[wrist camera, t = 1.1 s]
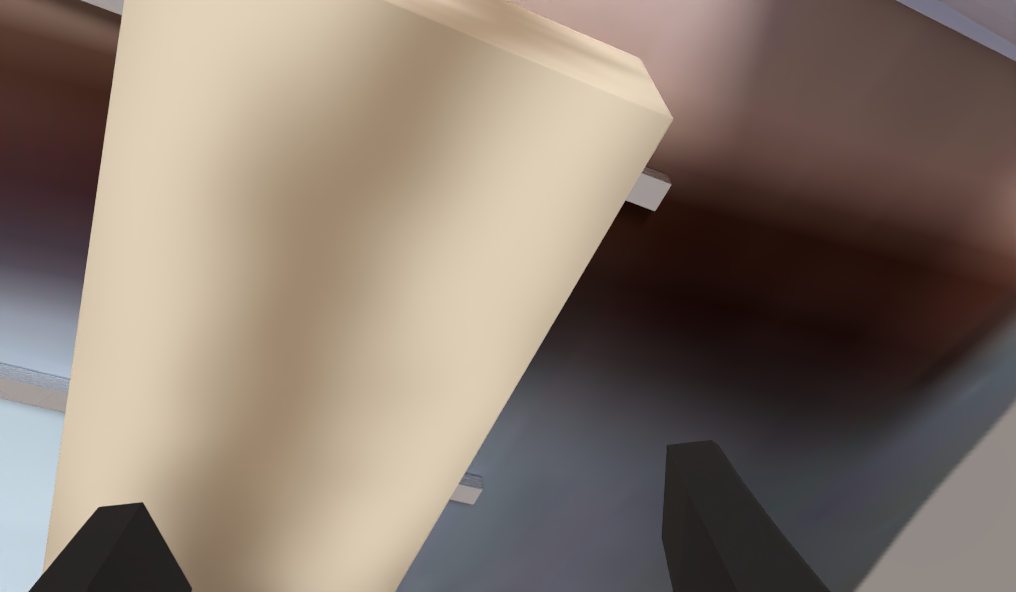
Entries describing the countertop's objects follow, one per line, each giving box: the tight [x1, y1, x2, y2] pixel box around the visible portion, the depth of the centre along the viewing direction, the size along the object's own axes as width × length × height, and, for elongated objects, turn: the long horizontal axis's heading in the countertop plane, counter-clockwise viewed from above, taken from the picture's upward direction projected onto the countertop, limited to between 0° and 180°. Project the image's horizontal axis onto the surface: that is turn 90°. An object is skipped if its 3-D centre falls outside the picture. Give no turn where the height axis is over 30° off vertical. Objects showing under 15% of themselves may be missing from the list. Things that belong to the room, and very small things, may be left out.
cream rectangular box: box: [42, 0, 673, 592], centre depth 19 cm, size 9×18×4 cm, turn 157°
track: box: [0, 0, 672, 505], centre depth 19 cm, size 23×16×2 cm
